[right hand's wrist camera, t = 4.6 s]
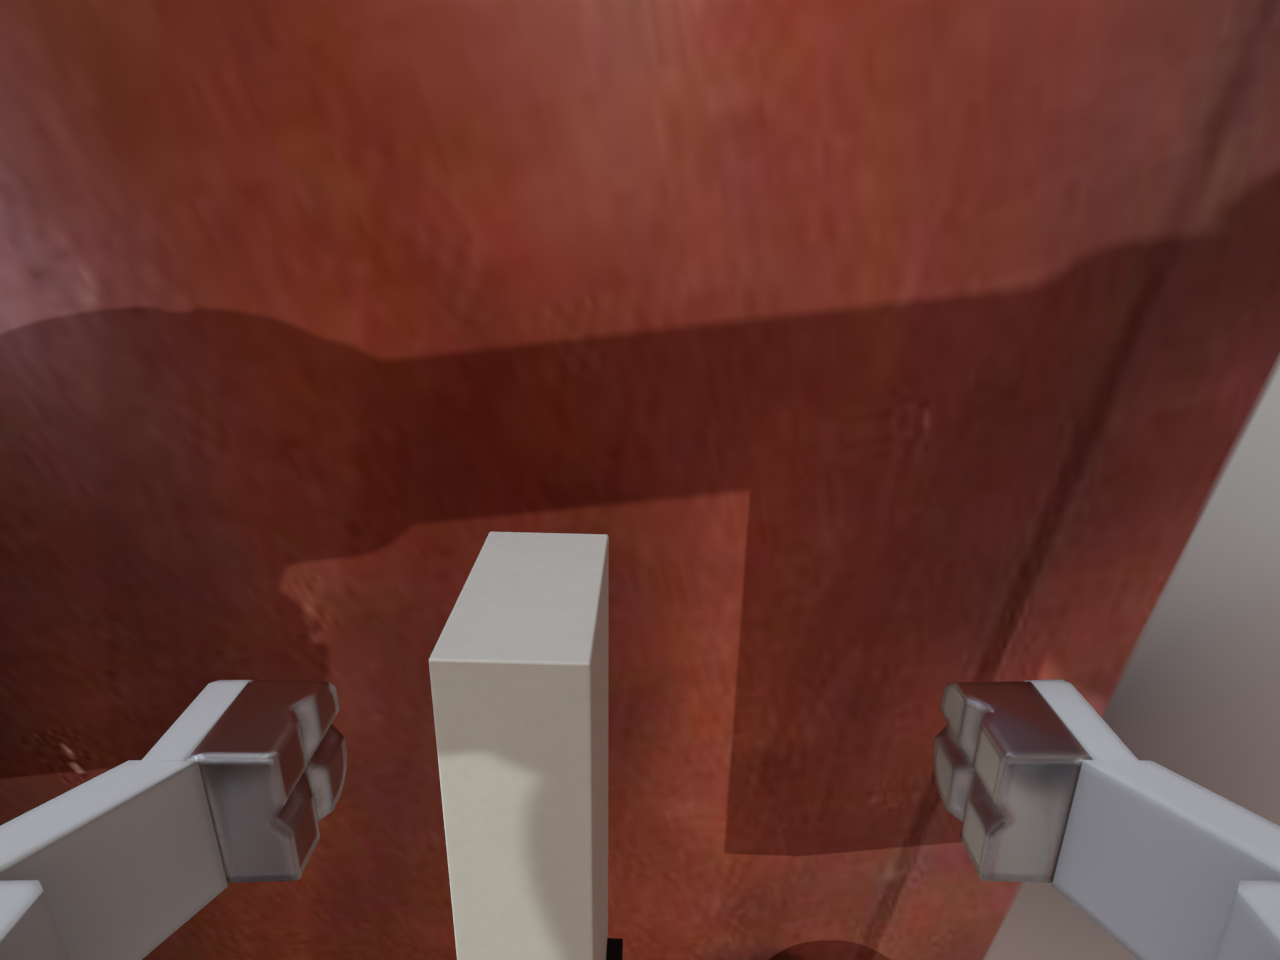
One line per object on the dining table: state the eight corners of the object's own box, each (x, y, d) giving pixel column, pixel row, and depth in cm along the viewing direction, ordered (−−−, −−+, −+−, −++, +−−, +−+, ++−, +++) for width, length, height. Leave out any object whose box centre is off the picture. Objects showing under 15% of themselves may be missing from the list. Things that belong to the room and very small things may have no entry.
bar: (489, 530, 31) (427, 659, 23) (608, 533, 31) (590, 663, 23) (517, 1004, 41) (480, 1215, 32) (608, 1007, 41) (595, 1219, 32)
